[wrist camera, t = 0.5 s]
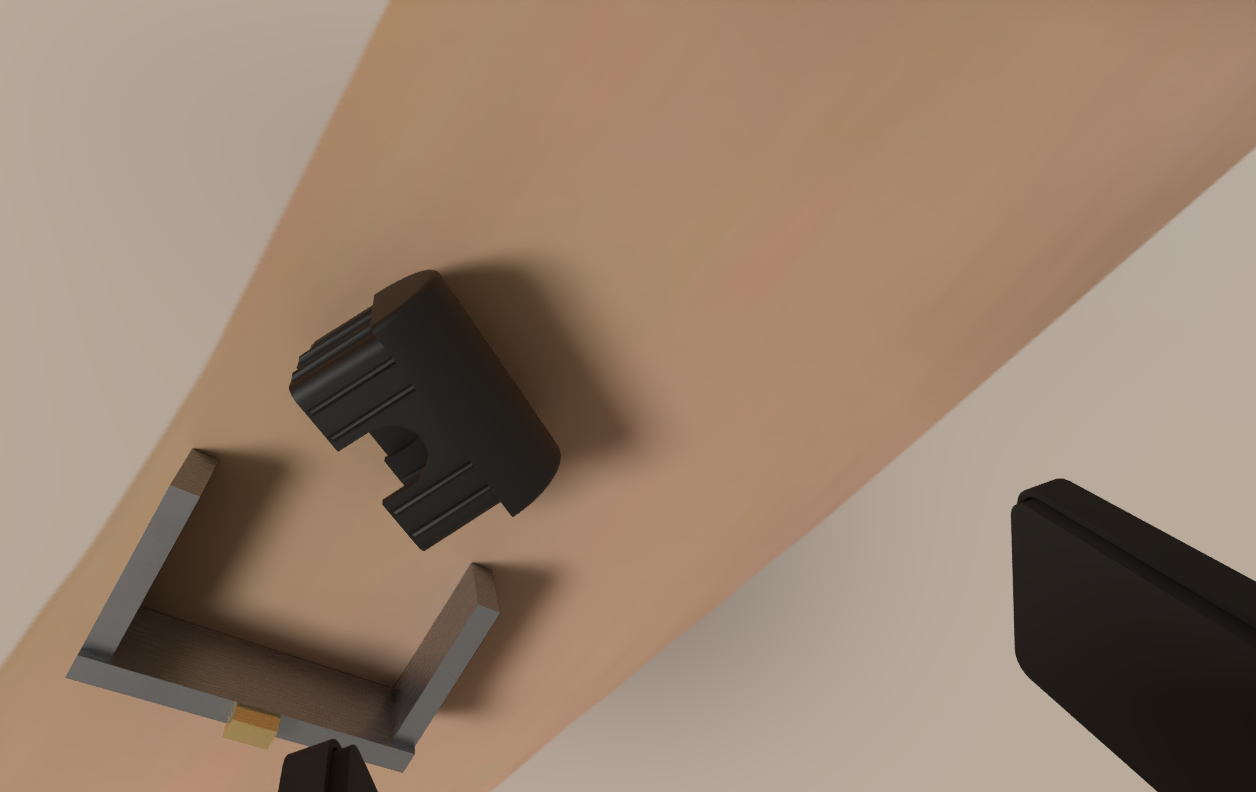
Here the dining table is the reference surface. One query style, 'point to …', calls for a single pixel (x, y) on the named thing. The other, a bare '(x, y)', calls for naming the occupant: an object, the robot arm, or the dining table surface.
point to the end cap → (428, 408)
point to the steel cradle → (271, 658)
